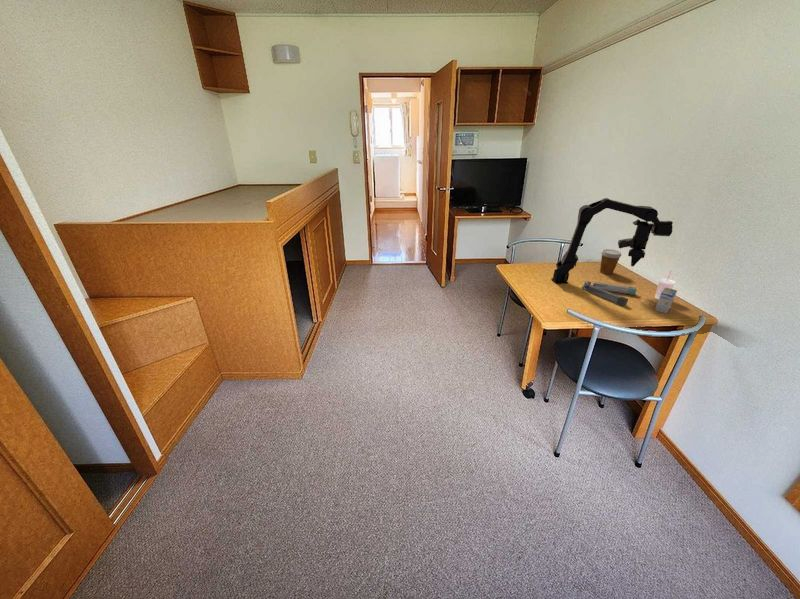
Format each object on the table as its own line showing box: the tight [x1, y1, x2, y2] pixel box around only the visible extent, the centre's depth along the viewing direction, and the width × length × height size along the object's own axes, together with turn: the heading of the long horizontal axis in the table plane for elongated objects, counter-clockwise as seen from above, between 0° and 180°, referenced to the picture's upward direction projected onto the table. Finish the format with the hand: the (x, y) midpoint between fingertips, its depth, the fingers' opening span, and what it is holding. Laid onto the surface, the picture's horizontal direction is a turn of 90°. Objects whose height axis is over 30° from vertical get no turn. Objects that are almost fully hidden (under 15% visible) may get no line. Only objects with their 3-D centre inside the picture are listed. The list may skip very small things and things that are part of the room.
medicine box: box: [654, 288, 678, 314], centre depth 145 cm, size 8×4×9 cm, turn 135°
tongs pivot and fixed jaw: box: [581, 280, 629, 307], centre depth 160 cm, size 23×5×4 cm, turn 25°
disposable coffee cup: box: [599, 248, 622, 275], centre depth 184 cm, size 10×10×12 cm
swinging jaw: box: [592, 281, 638, 296], centre depth 164 cm, size 18×3×3 cm, turn 63°
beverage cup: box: [654, 270, 676, 300], centre depth 154 cm, size 6×6×14 cm
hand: (632, 266), depth 162 cm, fingers closed
